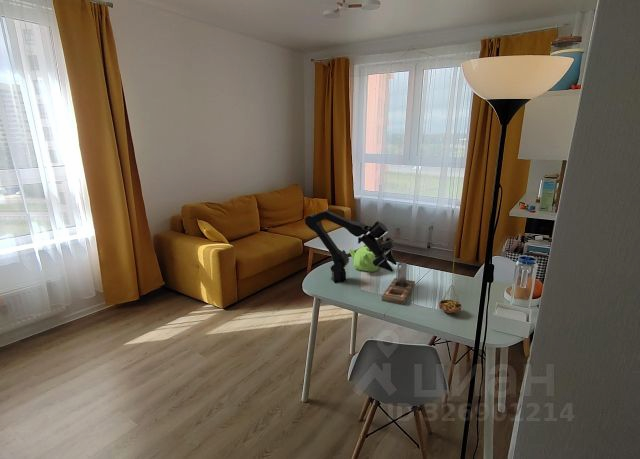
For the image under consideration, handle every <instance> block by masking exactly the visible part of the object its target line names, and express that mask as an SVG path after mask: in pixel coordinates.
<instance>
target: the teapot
mask: <svg viewBox="0 0 640 459" xmlns="http://www.w3.org/2000/svg"><path fill="white" fill-rule="evenodd" d="M369 250H370V249H369V248H368V247H367V246H366V245H365V246H360V247H359V248H358V249H357V250H356V251H354V250H353V248H349V249H348V252H349V253H350V255H351V258H352V259H353V267H354V269H356V270H359V271H365V272H370V273H372V272H377V271H378V270H379V269H380V268H381V267H377V266H376V267H375V265H374V264H373V260H374V259H375V255H374V254H373V253H372V252H369Z"/></svg>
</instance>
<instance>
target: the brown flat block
mask: <svg viewBox="0 0 640 459" xmlns="http://www.w3.org/2000/svg"><path fill="white" fill-rule="evenodd" d="M397 284H398V277H394V279H393V280H392V281H391V283H390V284H389V285H388V287H387V288H386V290H384V292H383V294H381V301H382V302H387V303H391V304H396V305H401V306H404V305H405V303H406V301H407V300H408V298H409V296H410V294H411V293H412V291H413V289H414V288H415V285H416V284H415V281H414V280H410V279H409V280H408V279H406V288H405V287H399V286H397Z"/></svg>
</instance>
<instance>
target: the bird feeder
mask: <svg viewBox="0 0 640 459" xmlns="http://www.w3.org/2000/svg"><path fill="white" fill-rule="evenodd" d="M453 251H454V253H453V260H455V257H456V245H454V250H453ZM452 263H453V265H452V271H454V268H455V267H454V266H455V261H453V262H452ZM451 275H452V276H451V284H450V286H449V287H448V288H449V289H448V290H447V292H446V294H445V296H443V298H442V299H441V300H440V301H439V303H438V308H439V309H440V310H441V311H442V312H445V313H447V314H456V313H458V312H460V311H461V310H462V304H461V302H460V301H459V299H458V297H457V293H456V291H455V288H454V286H453V279H454V272H452V274H451ZM452 289H453V292H454V294H455V295H454V296H455V297H456V300H452V299H450V298H451V295H452V294H451V293H452ZM449 292H450V293H449ZM448 293H449V297H448V299H446V297H447V295H448Z"/></svg>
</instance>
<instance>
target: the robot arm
mask: <svg viewBox="0 0 640 459" xmlns="http://www.w3.org/2000/svg"><path fill="white" fill-rule="evenodd" d="M324 220H327V221H329V222H330V223H331V222H332V223H333V224H335V225H337V226H339V227H342V228H344V229H345V230H347V231H348V233H350V234H351V235H353V236H354V237H357V244H359V245H360V244H361V243H363V244H364V245H365V247H366V246H367V247H368V248H369V249H370V250H369V252H372V253H373V254H374V255H375V259H374V260H373V264H374V265H375V267H376V266H377V267H380V268H381V269H384V270H387V271H388V272H391V273H392V272H394V269H393V267H392V266H391V264H392V265H395V266H397V265H398V263H397V261H396V259H395V257H394V255H393V248H394V247H395V243H394V239H393V238H391V237H390V236H389V237H386V238H385V240H384V241H381V240H379V241H378V239H380V238H381V237H383V236H384V235H385V234H386V233H387V232H388V231H389V230H388V228H387V226H386V225H385V224H384V223H383V222H380V221H379V220H377V221H376V222H374V224H373V225H367V224H365V223H364V222H360V221H355V220H351V219H347V218H345V217H343V216H341V215H339V214H336V213H335V212H332V211H330V210H329V209H325V210H323V211H320V212H318V213H315V212H313V213H311V214H309V215H307V216H306V217H305V219H304V224H305V225H306V226H307V228H308V229H309V230H311V231H312V232H314V233H315V234H316V235H317V237H318V238H319V239H320V241H321V242H322V244H323V245H324V247H325V248H326V249H327V251H328V252H329V254H330V255H331V258H332V262H333V264H332V265H331V266H330V267H329V268H330V271H331V277H330V280H332V282H333V283H335V284H338V283H344V282H347V271H346V269H345V267H346V266H347V265H348V264H349V262H350V259H349V255H348V254H347V252H346V251H345V250H344V249H343V250H341V249H339V247H338V246H337V245H336V243H335V242H334V241H333V239H332V238H331V236H330V235H329V234H328V232H327V231H326V230H325V228H324V226H323V222H322V221H324Z"/></svg>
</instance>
